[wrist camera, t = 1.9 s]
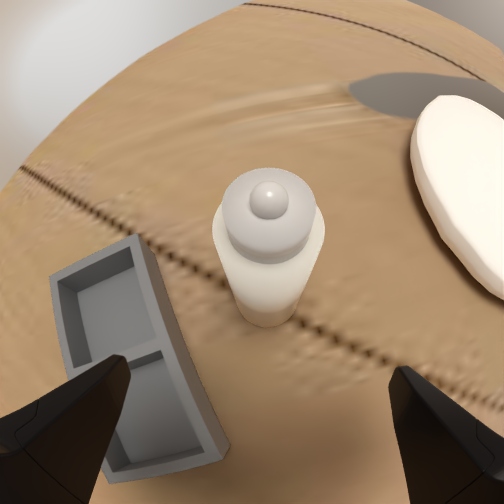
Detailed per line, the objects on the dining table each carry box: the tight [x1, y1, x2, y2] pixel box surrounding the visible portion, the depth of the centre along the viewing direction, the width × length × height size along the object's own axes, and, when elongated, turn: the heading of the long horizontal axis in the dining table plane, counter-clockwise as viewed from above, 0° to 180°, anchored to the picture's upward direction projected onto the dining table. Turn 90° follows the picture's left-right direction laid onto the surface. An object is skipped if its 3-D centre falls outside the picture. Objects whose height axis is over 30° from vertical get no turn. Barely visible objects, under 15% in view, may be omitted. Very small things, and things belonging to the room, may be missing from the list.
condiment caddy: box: [49, 233, 230, 484], centre depth 18 cm, size 16×9×4 cm, turn 24°
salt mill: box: [212, 168, 325, 328], centre depth 16 cm, size 5×5×14 cm
